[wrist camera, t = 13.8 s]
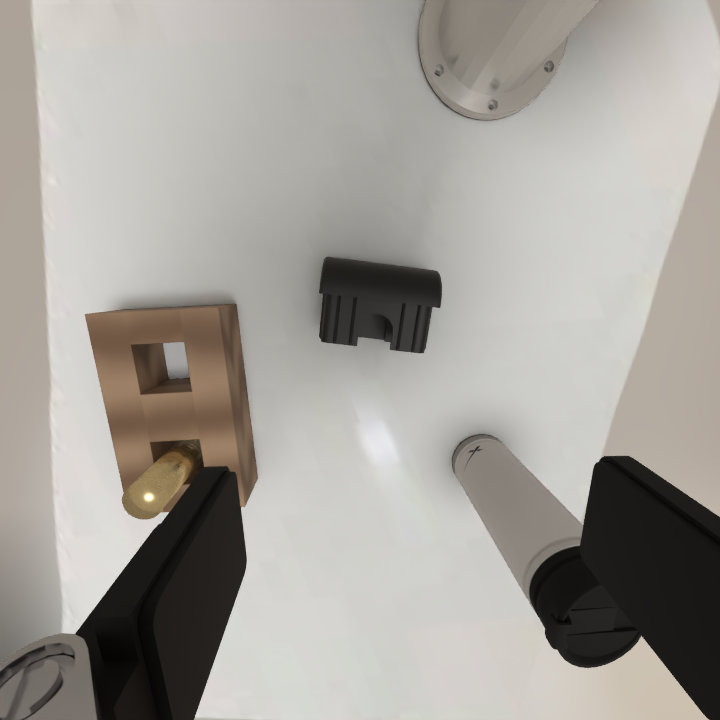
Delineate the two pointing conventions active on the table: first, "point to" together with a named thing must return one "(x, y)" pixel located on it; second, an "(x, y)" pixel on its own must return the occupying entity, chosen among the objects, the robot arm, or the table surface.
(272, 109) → the table surface
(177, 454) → the brass peg
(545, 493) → the travel mug
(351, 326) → the end cap
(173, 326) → the hole block
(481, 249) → the table surface
